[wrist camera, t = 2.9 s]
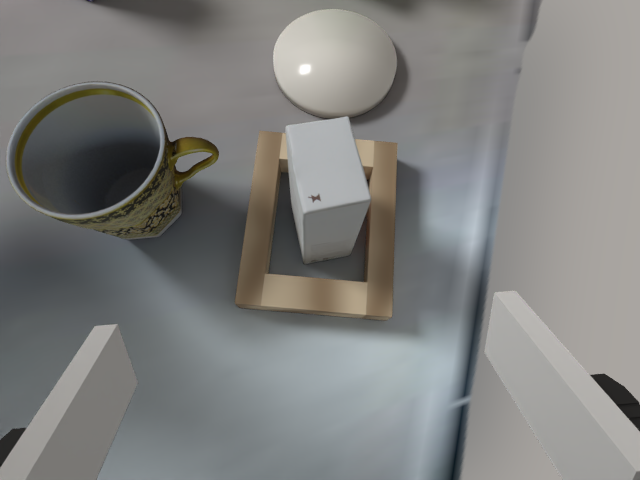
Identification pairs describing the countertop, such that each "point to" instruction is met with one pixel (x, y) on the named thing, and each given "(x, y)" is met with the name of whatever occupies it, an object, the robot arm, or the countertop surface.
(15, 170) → the ceramic cup
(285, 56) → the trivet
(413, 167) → the countertop surface
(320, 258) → the skincare box
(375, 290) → the block
